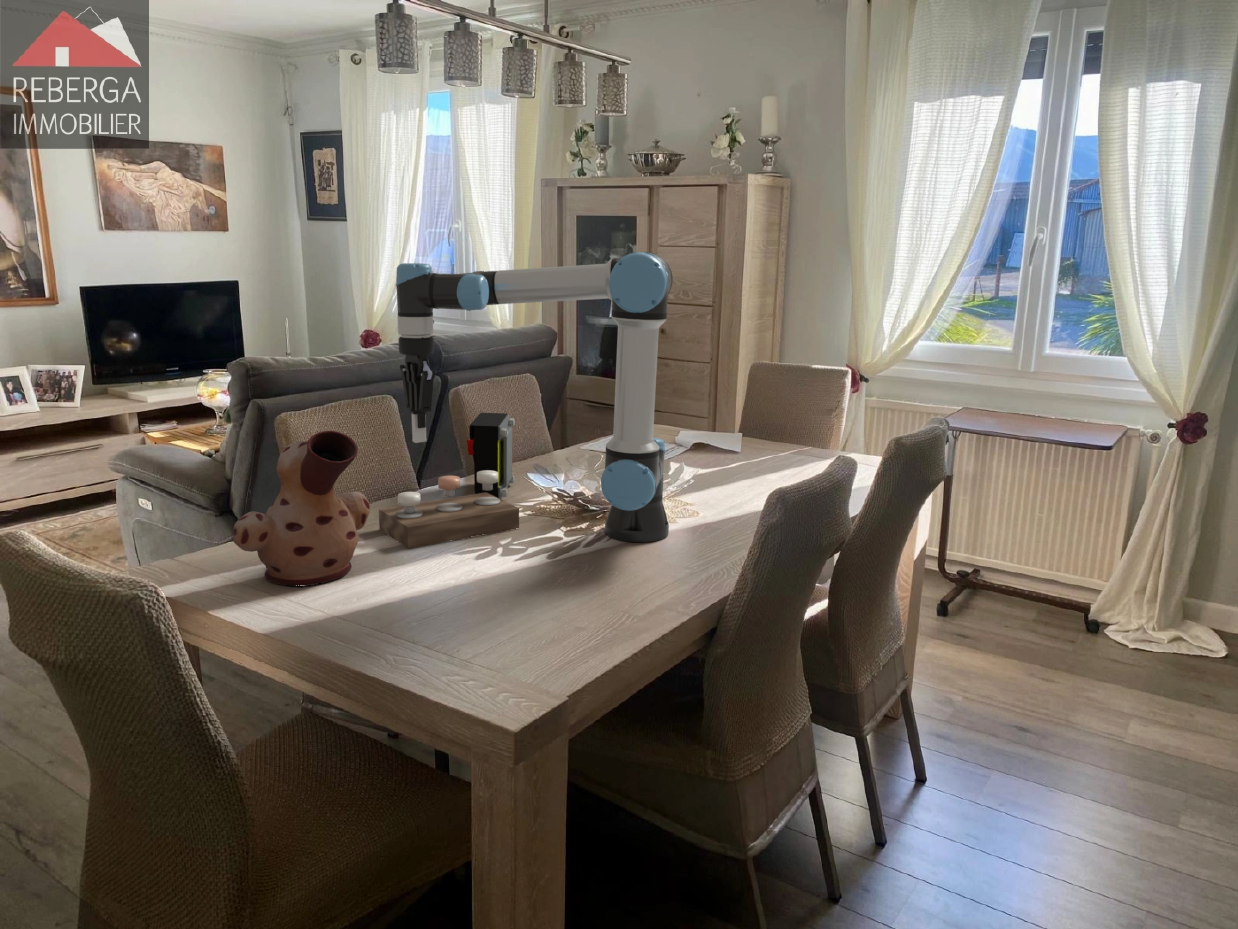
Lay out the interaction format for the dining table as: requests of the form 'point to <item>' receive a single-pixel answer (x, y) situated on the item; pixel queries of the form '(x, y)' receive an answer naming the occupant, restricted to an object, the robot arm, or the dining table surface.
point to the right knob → (487, 479)
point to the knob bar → (448, 519)
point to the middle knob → (449, 484)
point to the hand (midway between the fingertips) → (419, 441)
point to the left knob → (409, 501)
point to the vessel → (307, 515)
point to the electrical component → (492, 450)
